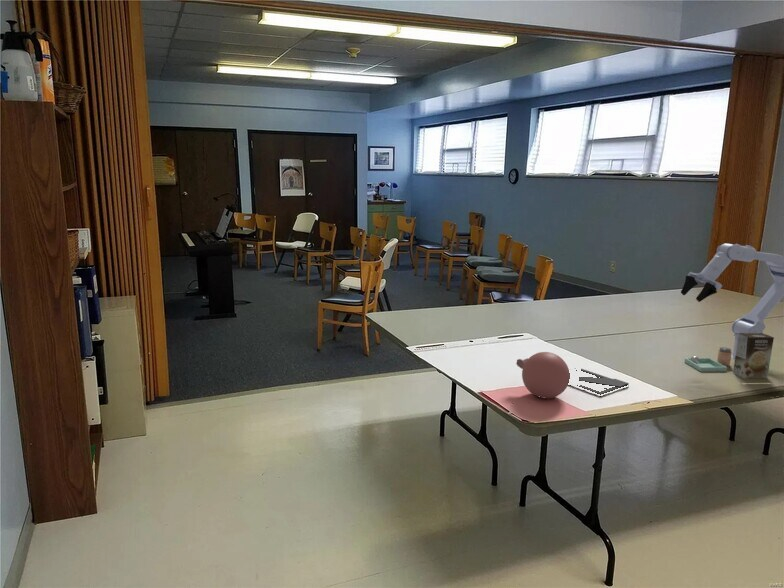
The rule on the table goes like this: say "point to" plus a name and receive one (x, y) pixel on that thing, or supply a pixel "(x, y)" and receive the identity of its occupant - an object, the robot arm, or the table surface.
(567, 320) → the table surface
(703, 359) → the tray
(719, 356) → the shaker
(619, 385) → the picture frame
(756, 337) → the coffee box
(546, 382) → the balloon
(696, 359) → the ball
